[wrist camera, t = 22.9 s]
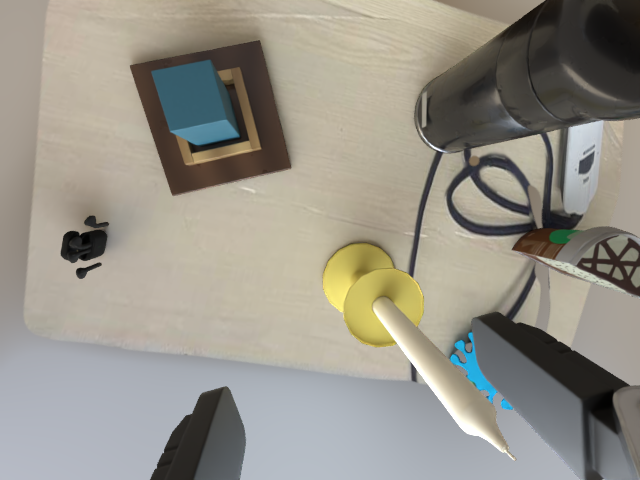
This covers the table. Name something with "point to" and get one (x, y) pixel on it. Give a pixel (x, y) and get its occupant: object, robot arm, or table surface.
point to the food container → (588, 255)
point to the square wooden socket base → (251, 114)
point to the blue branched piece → (476, 371)
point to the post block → (196, 103)
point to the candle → (403, 330)
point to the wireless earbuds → (84, 245)
